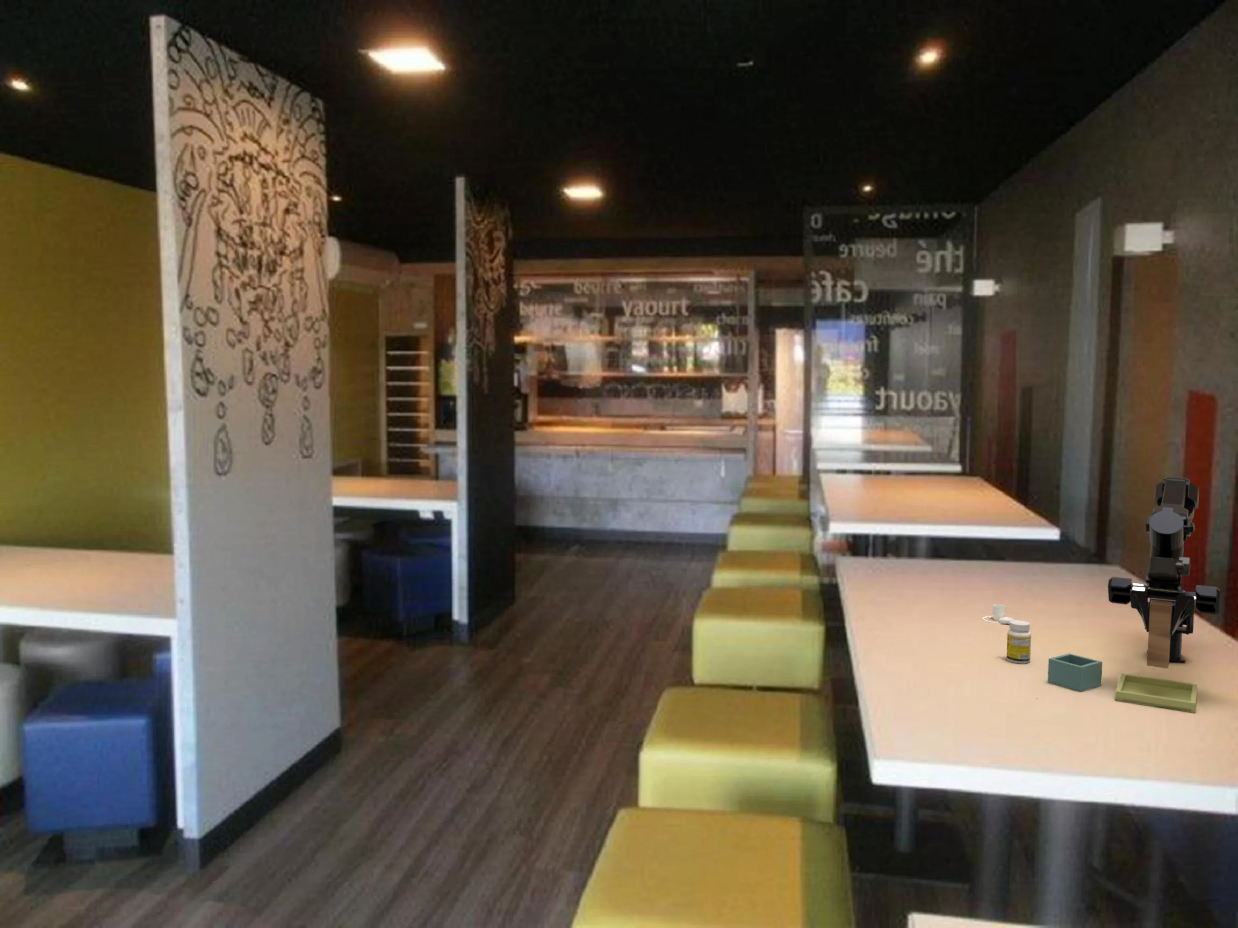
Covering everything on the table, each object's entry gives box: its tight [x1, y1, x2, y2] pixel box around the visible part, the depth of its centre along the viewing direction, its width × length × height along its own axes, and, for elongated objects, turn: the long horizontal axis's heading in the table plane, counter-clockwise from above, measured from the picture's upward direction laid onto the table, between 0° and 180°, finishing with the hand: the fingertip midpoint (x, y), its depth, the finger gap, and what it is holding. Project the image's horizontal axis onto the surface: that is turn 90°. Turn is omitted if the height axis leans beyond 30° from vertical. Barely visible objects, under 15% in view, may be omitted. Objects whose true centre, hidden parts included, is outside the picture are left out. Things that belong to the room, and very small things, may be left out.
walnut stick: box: [1146, 600, 1172, 669], centre depth 184 cm, size 4×4×12 cm
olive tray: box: [1114, 673, 1198, 714], centre depth 185 cm, size 13×13×2 cm
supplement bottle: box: [1006, 619, 1032, 665], centre depth 208 cm, size 5×5×8 cm
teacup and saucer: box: [981, 603, 1016, 625], centre depth 243 cm, size 9×8×4 cm
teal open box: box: [1047, 653, 1103, 692], centre depth 192 cm, size 7×7×5 cm
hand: (1159, 632), depth 183 cm, fingers closed on walnut stick, 3 cm apart
